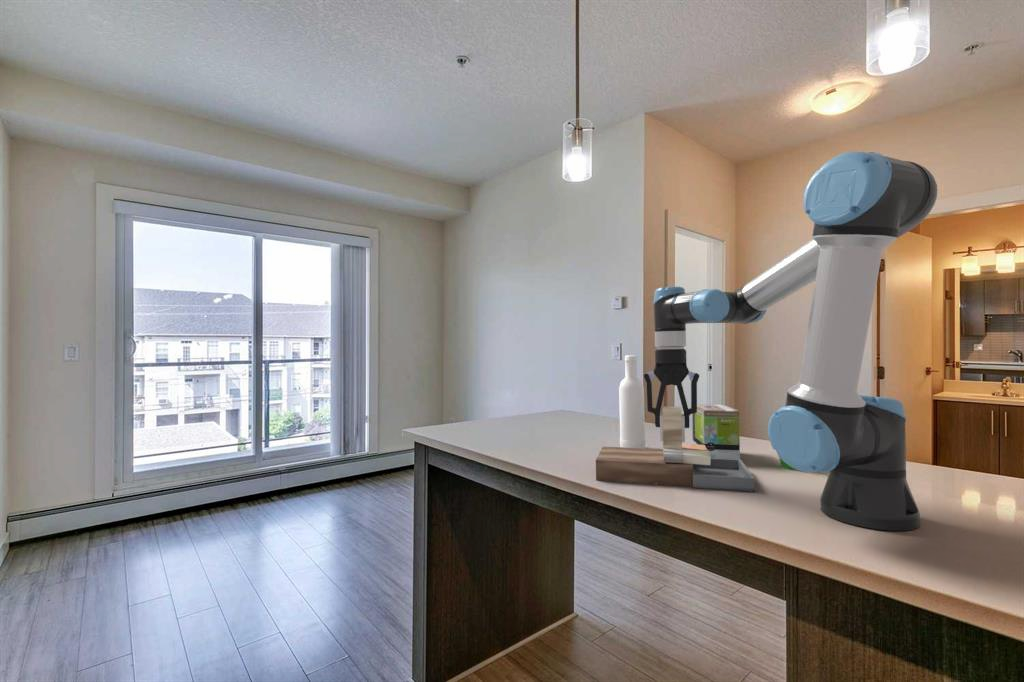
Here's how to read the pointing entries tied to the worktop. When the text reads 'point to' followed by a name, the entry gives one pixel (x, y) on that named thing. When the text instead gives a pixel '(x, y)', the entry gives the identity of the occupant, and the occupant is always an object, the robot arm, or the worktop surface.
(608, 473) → the board
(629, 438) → the bottle
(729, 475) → the tray
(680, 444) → the two-tone beige block
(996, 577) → the worktop surface
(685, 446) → the terracotta tile
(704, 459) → the cream tile
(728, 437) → the tea box
